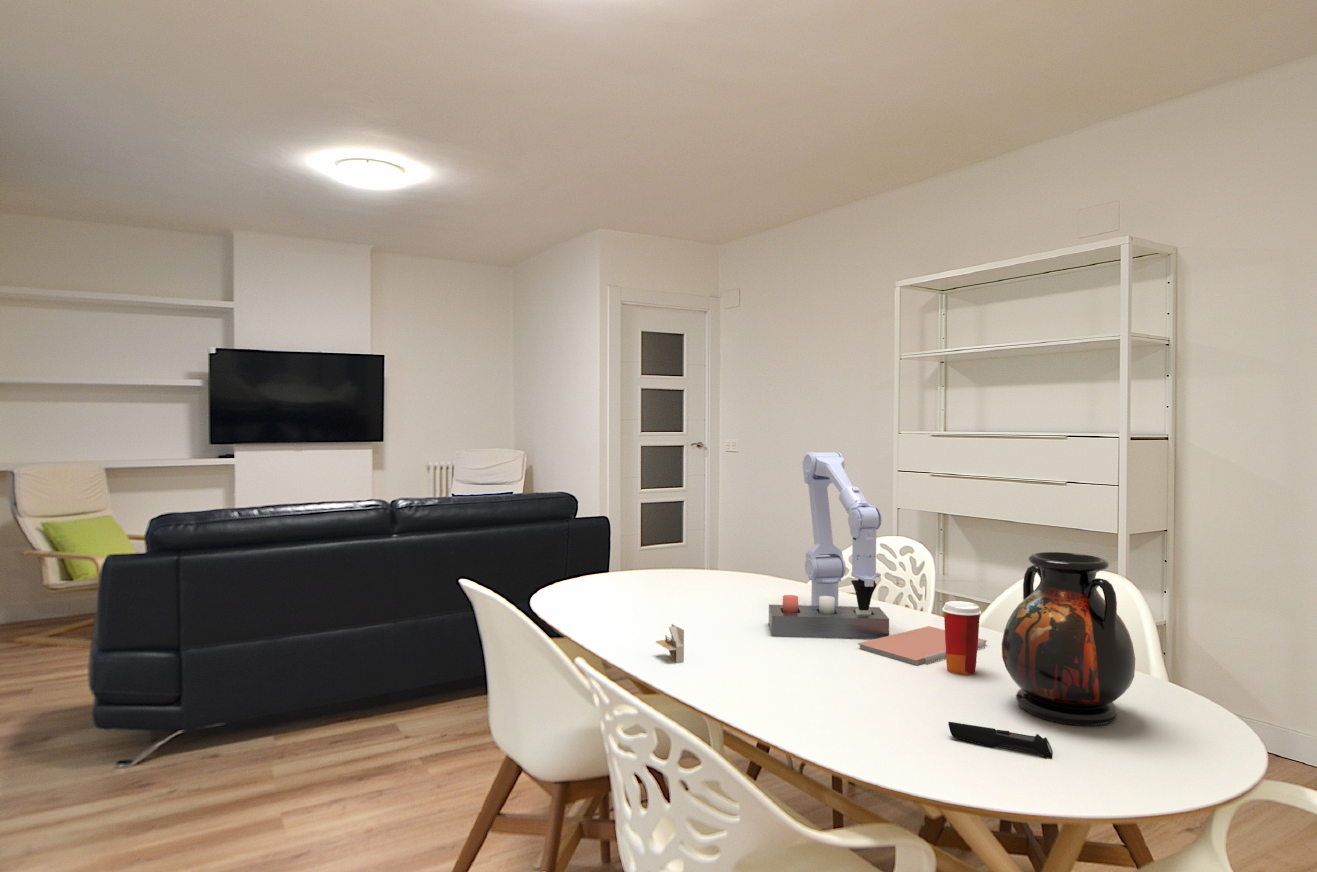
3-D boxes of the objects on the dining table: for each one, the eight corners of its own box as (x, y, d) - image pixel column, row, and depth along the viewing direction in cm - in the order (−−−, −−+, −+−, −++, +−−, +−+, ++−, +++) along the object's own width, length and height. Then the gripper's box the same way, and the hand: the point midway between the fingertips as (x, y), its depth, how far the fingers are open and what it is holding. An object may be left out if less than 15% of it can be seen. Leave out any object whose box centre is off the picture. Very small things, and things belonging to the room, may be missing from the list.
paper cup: (974, 665, 169) (975, 600, 169) (985, 677, 161) (986, 609, 161) (936, 664, 170) (937, 599, 169) (946, 675, 162) (947, 608, 162)
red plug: (782, 614, 199) (782, 594, 199) (797, 614, 199) (797, 595, 198) (783, 618, 195) (783, 597, 195) (798, 618, 195) (798, 598, 195)
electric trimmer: (950, 735, 132) (949, 716, 132) (1053, 752, 125) (1053, 733, 125) (946, 743, 129) (946, 724, 129) (1052, 761, 122) (1052, 741, 122)
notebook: (920, 669, 168) (920, 660, 168) (857, 650, 181) (857, 642, 181) (991, 648, 184) (991, 640, 184) (928, 632, 197) (928, 624, 197)
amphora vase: (975, 698, 149) (977, 551, 148) (1060, 685, 156) (1063, 545, 156) (1071, 741, 129) (1073, 571, 128) (1164, 724, 136) (1167, 563, 136)
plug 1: (818, 615, 198) (818, 595, 198) (833, 615, 198) (833, 595, 198) (820, 619, 194) (820, 598, 194) (835, 619, 194) (835, 599, 194)
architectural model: (670, 666, 169) (670, 631, 169) (655, 657, 175) (656, 624, 175) (684, 664, 170) (684, 629, 170) (669, 655, 176) (669, 622, 176)
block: (768, 623, 203) (768, 604, 203) (878, 626, 201) (879, 607, 201) (771, 636, 191) (771, 615, 191) (888, 639, 189) (889, 618, 189)
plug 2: (854, 627, 197) (854, 607, 197) (869, 627, 197) (869, 608, 197) (856, 631, 194) (857, 611, 194) (872, 631, 193) (872, 611, 193)
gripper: (886, 560, 188) (886, 617, 188) (874, 550, 202) (874, 603, 202) (856, 560, 188) (856, 616, 188) (847, 550, 203) (846, 602, 203)
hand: (863, 609), depth 195 cm, fingers closed, pressing on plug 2
